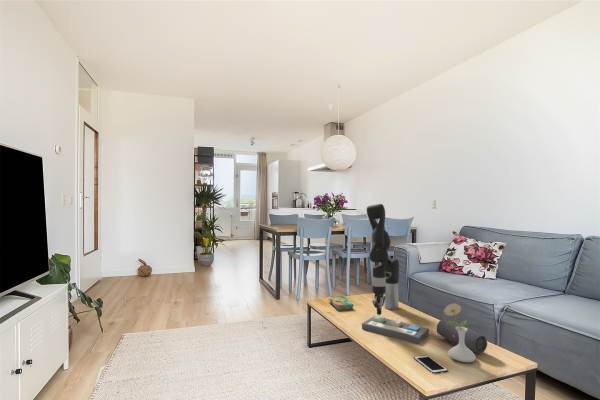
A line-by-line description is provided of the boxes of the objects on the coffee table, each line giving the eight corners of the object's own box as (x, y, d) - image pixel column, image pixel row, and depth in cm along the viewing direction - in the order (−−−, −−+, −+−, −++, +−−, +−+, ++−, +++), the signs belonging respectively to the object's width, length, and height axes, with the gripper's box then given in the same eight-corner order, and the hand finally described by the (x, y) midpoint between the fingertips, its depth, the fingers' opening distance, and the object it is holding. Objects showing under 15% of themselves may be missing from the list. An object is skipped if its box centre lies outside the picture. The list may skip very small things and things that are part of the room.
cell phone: (427, 356, 151) (427, 354, 151) (449, 372, 136) (449, 370, 136) (412, 358, 149) (412, 356, 149) (433, 374, 135) (433, 372, 135)
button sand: (393, 325, 185) (393, 318, 185) (402, 327, 182) (402, 320, 182) (389, 327, 181) (389, 321, 181) (398, 329, 178) (398, 323, 178)
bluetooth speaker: (435, 339, 169) (435, 319, 170) (448, 336, 173) (448, 317, 173) (474, 357, 149) (473, 336, 149) (488, 354, 152) (487, 332, 152)
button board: (374, 320, 196) (374, 314, 196) (428, 333, 176) (428, 327, 176) (361, 328, 184) (361, 322, 184) (418, 343, 164) (418, 336, 164)
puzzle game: (336, 304, 215) (328, 295, 234) (336, 311, 215) (328, 302, 234) (353, 302, 217) (343, 294, 237) (353, 310, 217) (343, 301, 237)
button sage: (377, 321, 191) (377, 315, 191) (385, 323, 188) (385, 317, 188) (373, 323, 187) (373, 317, 187) (381, 325, 184) (381, 319, 184)
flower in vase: (473, 355, 151) (473, 301, 151) (478, 366, 140) (477, 308, 141) (443, 351, 155) (442, 298, 156) (445, 362, 145) (445, 306, 145)
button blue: (410, 331, 179) (410, 324, 179) (420, 333, 175) (420, 327, 176) (407, 334, 175) (407, 327, 175) (416, 336, 172) (416, 329, 172)
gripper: (378, 281, 195) (378, 310, 195) (367, 285, 185) (367, 316, 185) (389, 283, 191) (390, 312, 190) (380, 287, 180) (380, 319, 180)
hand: (379, 314), depth 188 cm, fingers closed
